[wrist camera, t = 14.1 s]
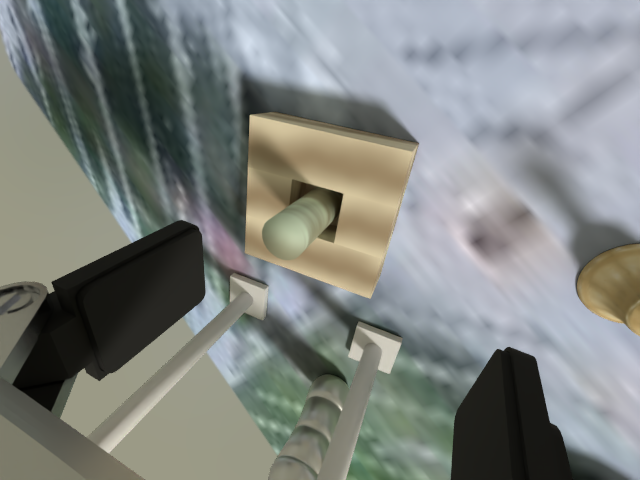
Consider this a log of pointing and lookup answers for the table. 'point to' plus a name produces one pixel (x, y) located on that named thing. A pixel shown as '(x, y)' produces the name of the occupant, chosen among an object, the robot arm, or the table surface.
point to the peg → (301, 223)
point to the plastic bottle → (312, 431)
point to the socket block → (334, 174)
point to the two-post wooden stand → (251, 299)
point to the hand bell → (613, 286)
